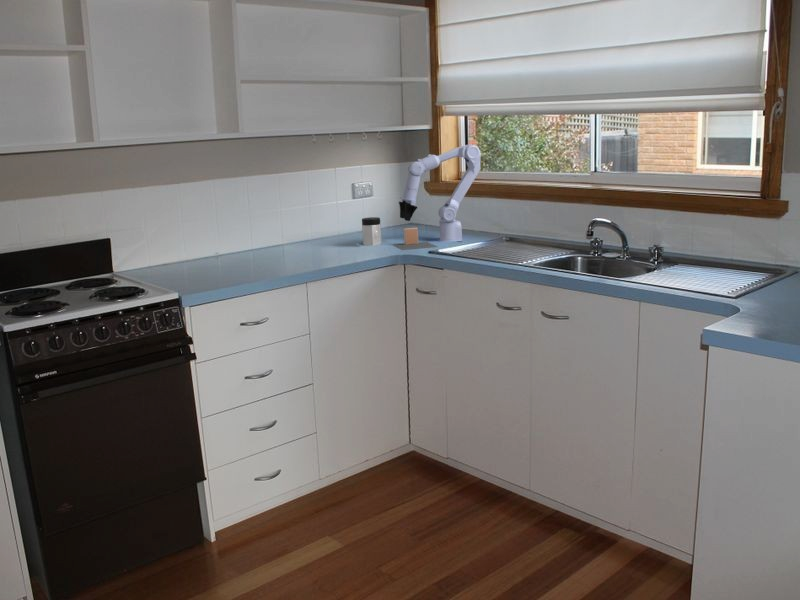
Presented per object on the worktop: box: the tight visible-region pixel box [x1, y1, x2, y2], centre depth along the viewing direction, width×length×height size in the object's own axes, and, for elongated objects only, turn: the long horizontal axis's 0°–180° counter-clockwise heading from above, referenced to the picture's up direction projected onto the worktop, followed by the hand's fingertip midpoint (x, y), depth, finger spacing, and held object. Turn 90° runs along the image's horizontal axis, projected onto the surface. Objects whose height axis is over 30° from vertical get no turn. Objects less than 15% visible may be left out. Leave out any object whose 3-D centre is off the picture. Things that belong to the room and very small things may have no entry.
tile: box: [403, 227, 419, 245], centre depth 351 cm, size 6×2×7 cm, turn 106°
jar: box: [361, 216, 382, 246], centre depth 357 cm, size 9×8×12 cm
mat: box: [392, 241, 439, 251], centre depth 347 cm, size 16×16×1 cm
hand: (404, 219), depth 355 cm, fingers open, 7 cm apart
